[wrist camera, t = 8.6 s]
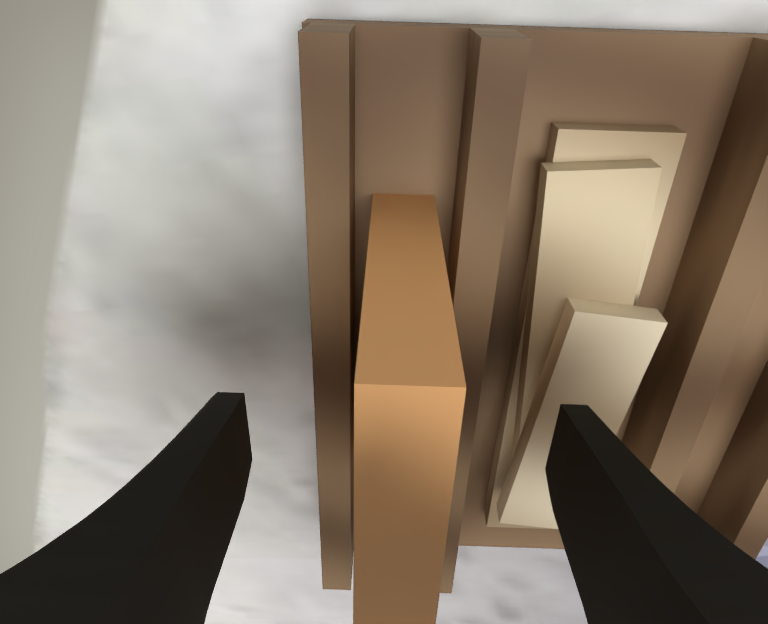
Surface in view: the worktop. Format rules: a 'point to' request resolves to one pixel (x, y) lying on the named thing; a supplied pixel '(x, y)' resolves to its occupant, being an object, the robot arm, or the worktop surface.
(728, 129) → the rack
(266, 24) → the worktop surface
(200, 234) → the worktop surface
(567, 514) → the robot arm
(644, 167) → the offcut stack
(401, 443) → the orange square slab
